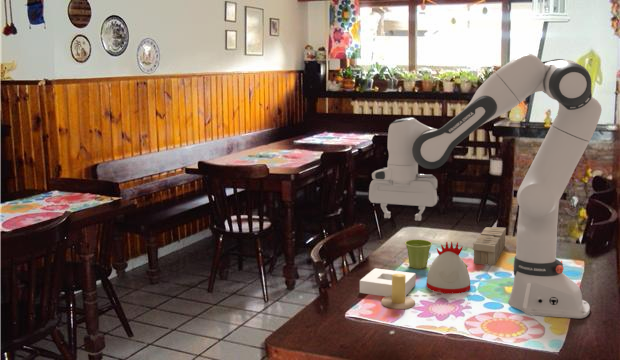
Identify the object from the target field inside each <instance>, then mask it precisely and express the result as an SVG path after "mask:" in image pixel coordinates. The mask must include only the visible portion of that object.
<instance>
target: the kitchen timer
mask: <svg viewBox="0 0 620 360" xmlns="http://www.w3.org/2000/svg"><path fill="white" fill-rule="evenodd" d="M440 247H441V251H440V249H439V248H438V247H436V251H437V254H438V255H437V256H436V257H435V258H434V259H433V261H432V262H431V265H430V266H429V269H428V272H427V276H426V287H427V289H428V290H430V291H432V292H435V293H441V294H447V295H449V294H450V295H452V294H453V295H454V294H455V295H456V294H463V293H466V292H469V291H470V290H471V278H470V273H469V271H468V267H469V266H468V264H466V262H465V261H464V259H462V257H461V256H460V254H461V253H462V250H463V248H464V246H461V247H460V248H459V242H457V243H456V245H455V248H454V245H453V242H452V241H451V242H450V246H449V244H448V241H446V242H445V247H444V245H443V244H441V245H440Z"/></svg>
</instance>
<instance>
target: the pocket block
mask: <svg viewBox="0 0 620 360" xmlns="http://www.w3.org/2000/svg"><path fill="white" fill-rule="evenodd" d="M393 274H404V275H405V276H406V279H405V296H406V297H407V295H408V294H409V293H410V291H411V290H413V289H414V287H415V286H416V280H417V278H416V276H417V275H416V274H417V273H415V272H408V271H407V272H406V271H401V270H400V271H399V270H392V269H383V268H377V267H375V268H373V269H372V270H371V271H370V272H368V273H367V274H365V276H363V277H362V278H361V279H359V293H360V294H365V295H366V294H367V295H373V296H380V297H388V296H392V275H393Z"/></svg>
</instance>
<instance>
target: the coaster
mask: <svg viewBox="0 0 620 360" xmlns="http://www.w3.org/2000/svg"><path fill="white" fill-rule="evenodd" d="M381 305H382V306H383V305H384V306H383V307H385V308H389V309H393V310H406V309H411V308H413V307H415V305H416V301H415V299H414V298H412V297H409V296H407V295H406V296H405V303H401V304H397V303H393V302H392V296H388V297H386V296H384V297H383V298H382V299H381Z"/></svg>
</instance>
